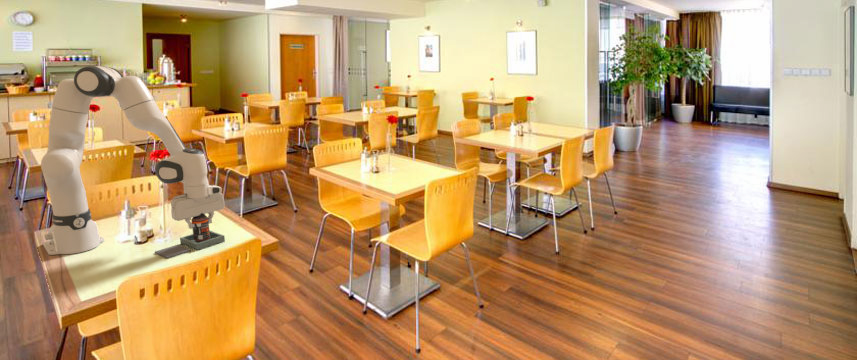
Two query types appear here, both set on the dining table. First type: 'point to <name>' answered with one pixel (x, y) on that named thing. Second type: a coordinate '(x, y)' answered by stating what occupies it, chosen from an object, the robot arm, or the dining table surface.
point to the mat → (172, 251)
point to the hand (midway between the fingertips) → (200, 225)
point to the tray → (193, 244)
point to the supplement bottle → (201, 228)
